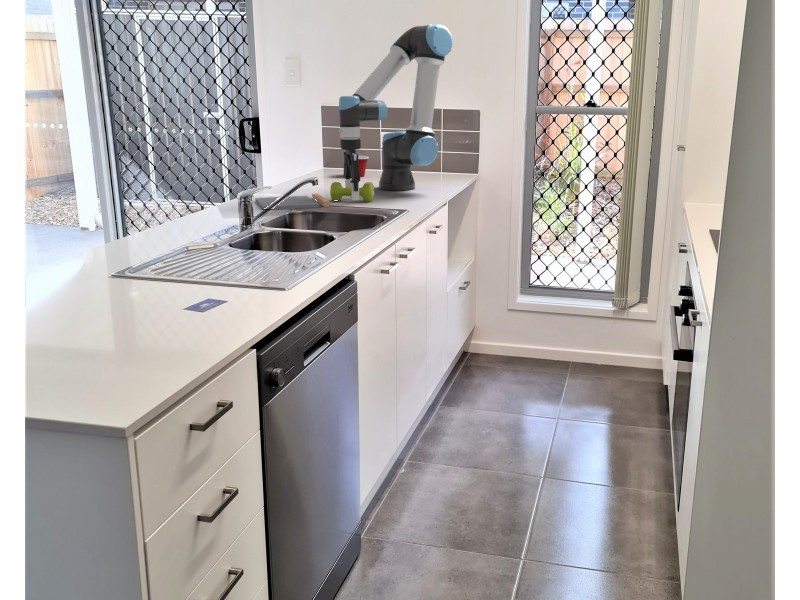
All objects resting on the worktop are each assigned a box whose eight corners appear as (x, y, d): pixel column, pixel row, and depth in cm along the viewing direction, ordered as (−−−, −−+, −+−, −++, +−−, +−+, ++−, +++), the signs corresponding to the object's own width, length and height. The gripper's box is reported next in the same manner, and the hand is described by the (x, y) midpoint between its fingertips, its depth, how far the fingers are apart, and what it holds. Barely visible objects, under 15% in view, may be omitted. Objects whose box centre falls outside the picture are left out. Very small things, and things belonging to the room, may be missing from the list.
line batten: (317, 198, 307) (317, 193, 306) (329, 206, 285) (329, 201, 284) (312, 198, 306) (312, 193, 306) (324, 207, 284) (323, 201, 283)
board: (307, 198, 306) (307, 195, 305) (318, 207, 283) (318, 204, 283) (255, 201, 300) (255, 198, 300) (263, 210, 278) (262, 206, 278)
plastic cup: (363, 183, 353) (362, 156, 350) (341, 183, 357) (341, 156, 354) (373, 181, 363) (372, 155, 359) (352, 180, 367) (351, 154, 364)
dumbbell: (375, 200, 302) (375, 181, 300) (371, 203, 294) (371, 183, 292) (333, 199, 304) (333, 180, 302) (328, 202, 296) (328, 183, 294)
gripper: (334, 137, 302) (336, 194, 308) (347, 140, 281) (349, 202, 287) (353, 136, 304) (355, 193, 310) (367, 140, 283) (369, 201, 289)
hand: (352, 198), depth 299 cm, fingers open, 10 cm apart
